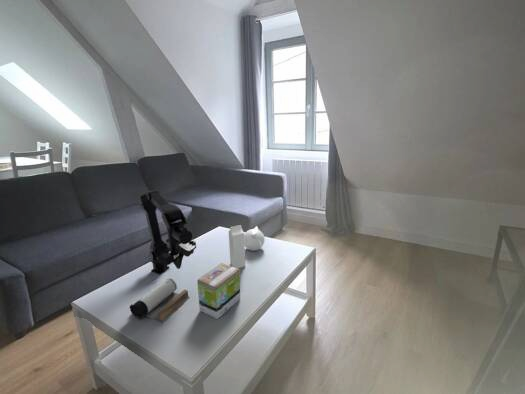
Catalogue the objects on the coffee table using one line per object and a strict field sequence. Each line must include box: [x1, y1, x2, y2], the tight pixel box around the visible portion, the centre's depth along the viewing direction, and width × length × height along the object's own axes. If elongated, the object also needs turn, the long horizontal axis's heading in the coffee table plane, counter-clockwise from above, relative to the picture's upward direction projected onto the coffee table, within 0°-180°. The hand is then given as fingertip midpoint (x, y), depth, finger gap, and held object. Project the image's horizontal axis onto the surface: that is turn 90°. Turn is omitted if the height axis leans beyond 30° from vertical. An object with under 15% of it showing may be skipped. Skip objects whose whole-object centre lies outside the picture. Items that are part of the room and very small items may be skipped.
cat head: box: [244, 226, 265, 252], centre depth 161 cm, size 15×13×12 cm
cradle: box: [144, 283, 191, 323], centre depth 117 cm, size 16×16×3 cm
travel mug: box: [129, 278, 178, 319], centre depth 116 cm, size 6×7×20 cm
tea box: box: [197, 263, 241, 320], centre depth 115 cm, size 15×10×15 cm
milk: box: [228, 224, 246, 269], centre depth 143 cm, size 6×6×22 cm
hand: (178, 268), depth 126 cm, fingers closed
